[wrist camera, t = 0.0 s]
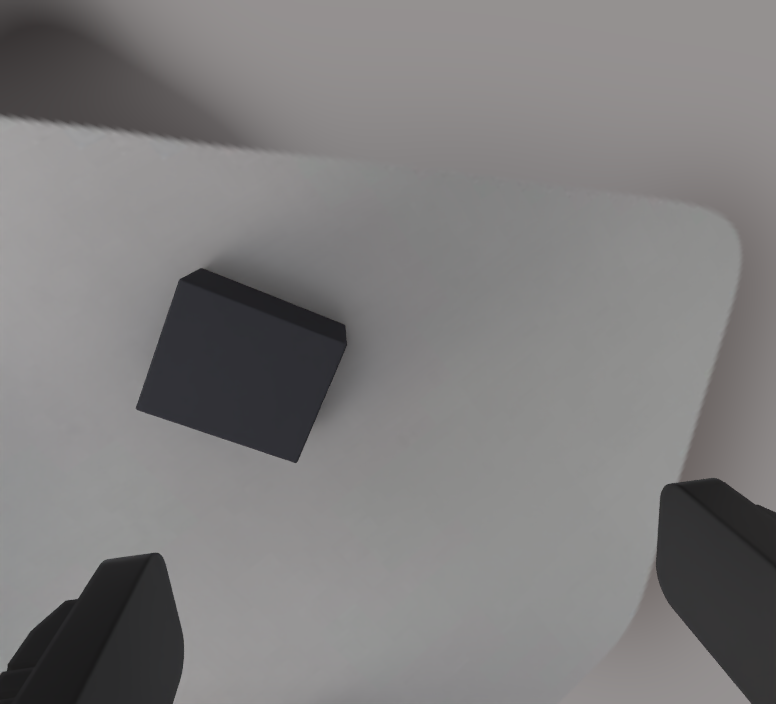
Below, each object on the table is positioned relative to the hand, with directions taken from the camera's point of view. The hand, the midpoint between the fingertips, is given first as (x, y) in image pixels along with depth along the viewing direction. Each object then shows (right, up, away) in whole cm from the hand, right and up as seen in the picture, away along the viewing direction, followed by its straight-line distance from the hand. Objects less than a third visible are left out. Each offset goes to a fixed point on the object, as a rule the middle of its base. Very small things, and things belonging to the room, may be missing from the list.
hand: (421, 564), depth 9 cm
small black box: (-6, +3, +13) cm, 15 cm away
